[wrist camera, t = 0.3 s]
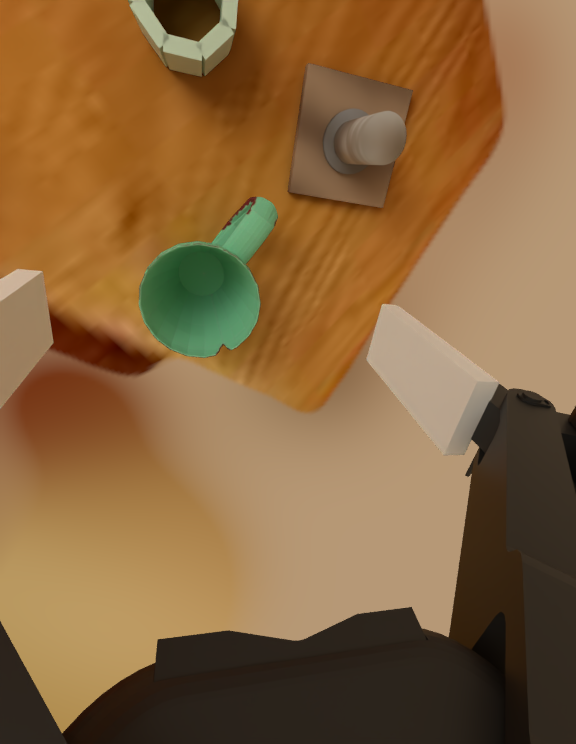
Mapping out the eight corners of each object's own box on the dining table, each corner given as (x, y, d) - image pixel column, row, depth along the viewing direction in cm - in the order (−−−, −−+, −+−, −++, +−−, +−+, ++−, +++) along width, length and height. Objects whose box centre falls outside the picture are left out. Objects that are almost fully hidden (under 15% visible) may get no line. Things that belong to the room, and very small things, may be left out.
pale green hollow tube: (139, -59, 27) (124, -109, 22) (235, -29, 29) (243, -69, 24) (141, 62, 30) (128, 43, 25) (227, 83, 32) (233, 68, 27)
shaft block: (305, 65, 33) (337, 36, 25) (407, 92, 35) (465, 73, 27) (287, 191, 37) (309, 199, 29) (379, 207, 40) (421, 218, 32)
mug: (214, 333, 43) (217, 376, 34) (134, 283, 39) (114, 319, 30) (294, 225, 39) (320, 244, 30) (214, 156, 35) (219, 156, 26)
